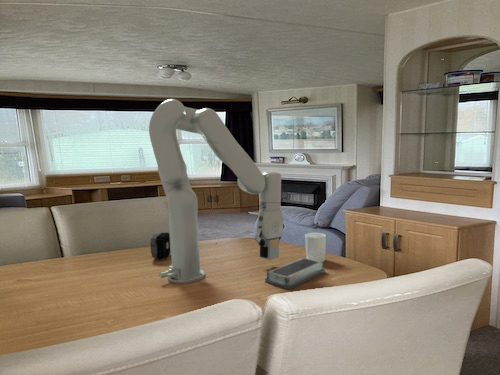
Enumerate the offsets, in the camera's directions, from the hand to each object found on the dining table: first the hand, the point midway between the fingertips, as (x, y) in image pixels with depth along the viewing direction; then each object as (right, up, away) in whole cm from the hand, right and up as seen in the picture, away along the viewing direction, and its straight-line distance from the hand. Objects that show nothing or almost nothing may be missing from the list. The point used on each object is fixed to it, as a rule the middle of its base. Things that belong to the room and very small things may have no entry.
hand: (269, 255), depth 132 cm
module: (0, -1, 0) cm, 1 cm away
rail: (+9, -5, -10) cm, 14 cm away
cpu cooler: (-43, -4, +17) cm, 47 cm away
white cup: (+18, -4, +7) cm, 20 cm away
